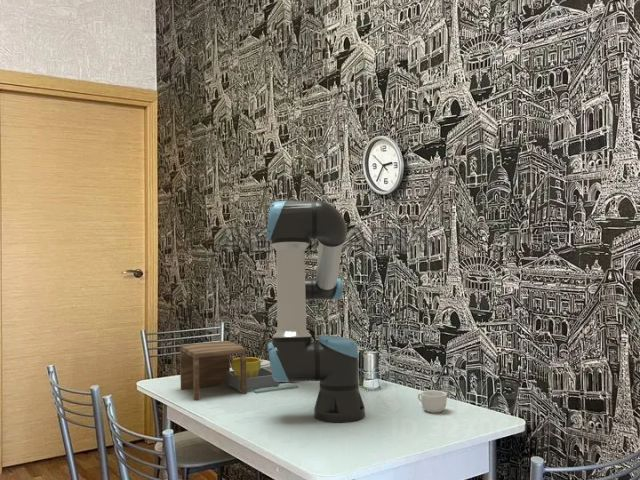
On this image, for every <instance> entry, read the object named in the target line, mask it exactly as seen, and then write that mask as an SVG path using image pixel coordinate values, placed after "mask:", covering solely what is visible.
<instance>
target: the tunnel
mask: <svg viewBox="0 0 640 480" xmlns="http://www.w3.org/2000/svg"><path fill="white" fill-rule="evenodd" d="M236 354H237V355H239V354H240V356H239V358H240V364H241V391H240V394H241V395H247V392H248V390H247V387H246V357H247V348H246V347H244V346H241V345H239V344H237V343H234V342H232V341H230V340H222V341H212V342H200V343H192V344H191V343H190V344H189V343H188V344H181V345H179V358H180V359H179V360H180V361H179V366H180V367H179V369H180V370H179V371H180V374H179V375H180V378H179V379H180V389H181V390H189V389H193V400H194V401H195V400H196V401H200V388H203V387H204V386H205V387H211V386H220V385H229V384H228V383H226V372H227V371H231V367H230V365H231V364H230V363H231V360H230V359H231V358H230V355H236ZM205 387H204V388H205ZM188 388H189V389H188Z"/></svg>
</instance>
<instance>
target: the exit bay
mask: <svg viewBox="0 0 640 480" xmlns="http://www.w3.org/2000/svg"><path fill="white" fill-rule="evenodd" d="M297 388H299V385H298V384H291V385H284V386H283V385H282V386H275V387H268V388H260V389H253V393H255V394H261V393H268V392H274V391H275V392H277V391H281V390H282V391H283V390H289V389H290V390H292V389H297Z"/></svg>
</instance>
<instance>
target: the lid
mask: <svg viewBox="0 0 640 480" xmlns="http://www.w3.org/2000/svg"><path fill="white" fill-rule="evenodd" d="M260 360H261V368H262V367H264V368H266V369H268V370H270V371H271V365H270V360H266V359H260Z"/></svg>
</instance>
